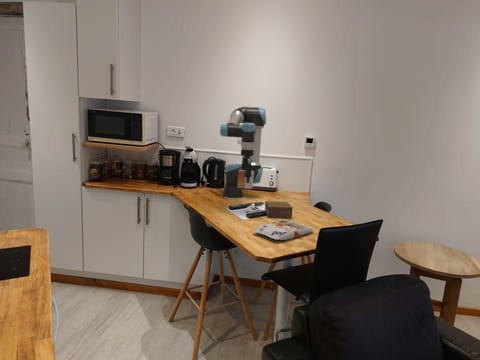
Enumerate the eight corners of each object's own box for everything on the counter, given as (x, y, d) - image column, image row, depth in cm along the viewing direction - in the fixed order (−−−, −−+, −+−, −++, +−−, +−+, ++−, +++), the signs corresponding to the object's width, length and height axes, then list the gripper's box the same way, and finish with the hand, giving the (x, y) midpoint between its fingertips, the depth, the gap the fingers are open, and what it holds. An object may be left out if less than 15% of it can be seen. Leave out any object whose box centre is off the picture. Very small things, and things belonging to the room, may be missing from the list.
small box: (237, 187, 218) (238, 170, 216) (241, 186, 223) (242, 169, 221) (249, 189, 214) (250, 172, 212) (253, 188, 219) (254, 171, 217)
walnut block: (264, 212, 226) (265, 201, 225) (286, 212, 227) (287, 201, 226) (268, 218, 212) (269, 207, 211) (291, 219, 214) (292, 207, 212)
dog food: (288, 224, 203) (289, 216, 202) (315, 233, 189) (316, 224, 189) (250, 234, 182) (251, 225, 181) (277, 245, 169) (278, 235, 168)
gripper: (237, 147, 224) (235, 182, 228) (245, 151, 203) (243, 190, 207) (249, 147, 225) (247, 182, 230) (258, 151, 204) (255, 190, 209)
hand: (245, 186), depth 218 cm, fingers closed on small box, 9 cm apart
